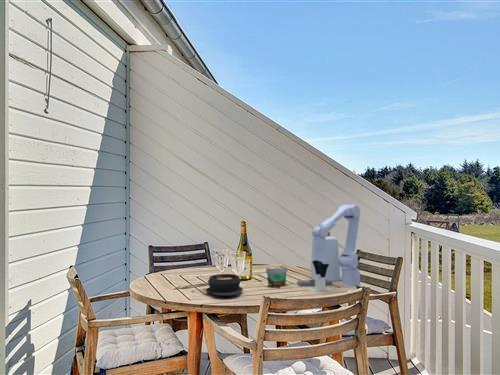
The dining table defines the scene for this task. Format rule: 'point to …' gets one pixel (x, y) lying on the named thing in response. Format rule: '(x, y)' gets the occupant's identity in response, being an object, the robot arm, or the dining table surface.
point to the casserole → (224, 285)
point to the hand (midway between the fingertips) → (320, 275)
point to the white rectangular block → (319, 283)
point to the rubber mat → (321, 289)
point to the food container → (276, 277)
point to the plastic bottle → (328, 259)
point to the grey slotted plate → (312, 282)
